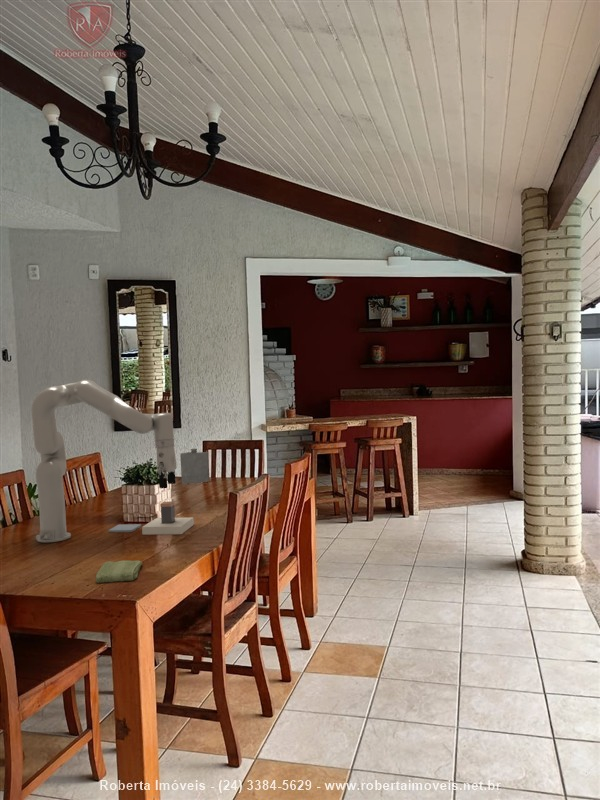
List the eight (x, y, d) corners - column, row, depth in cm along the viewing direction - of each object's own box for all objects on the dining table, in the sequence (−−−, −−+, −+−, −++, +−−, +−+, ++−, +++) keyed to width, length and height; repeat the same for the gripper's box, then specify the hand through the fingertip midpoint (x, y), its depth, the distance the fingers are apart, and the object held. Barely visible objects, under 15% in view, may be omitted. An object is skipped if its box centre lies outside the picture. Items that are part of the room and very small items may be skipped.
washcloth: (143, 565, 220) (143, 556, 219) (136, 582, 202) (135, 572, 202) (103, 568, 218) (102, 559, 218) (92, 585, 201) (91, 575, 200)
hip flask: (209, 482, 382) (208, 447, 382) (209, 483, 378) (207, 448, 378) (182, 483, 382) (180, 448, 381) (181, 484, 378) (179, 449, 377)
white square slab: (181, 534, 259) (181, 526, 259) (142, 534, 261) (142, 527, 261) (193, 524, 275) (193, 517, 275) (156, 524, 277) (156, 517, 277)
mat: (131, 532, 266) (131, 530, 266) (108, 532, 268) (108, 530, 268) (141, 526, 276) (141, 524, 276) (118, 526, 277) (118, 524, 277)
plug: (172, 530, 266) (170, 503, 265) (161, 530, 266) (160, 503, 266) (175, 528, 270) (174, 501, 269) (165, 528, 271) (164, 501, 270)
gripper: (166, 445, 257) (169, 489, 258) (180, 440, 275) (183, 481, 275) (147, 446, 259) (150, 490, 259) (163, 441, 276) (166, 482, 276)
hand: (167, 485), depth 267 cm, fingers open, 9 cm apart
